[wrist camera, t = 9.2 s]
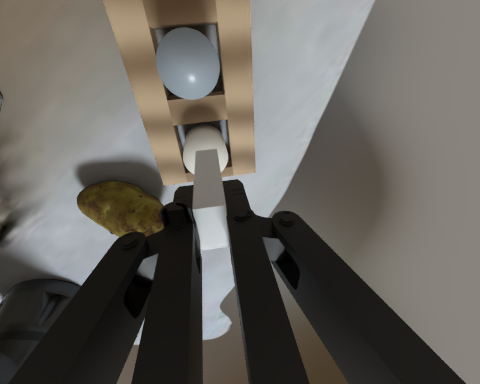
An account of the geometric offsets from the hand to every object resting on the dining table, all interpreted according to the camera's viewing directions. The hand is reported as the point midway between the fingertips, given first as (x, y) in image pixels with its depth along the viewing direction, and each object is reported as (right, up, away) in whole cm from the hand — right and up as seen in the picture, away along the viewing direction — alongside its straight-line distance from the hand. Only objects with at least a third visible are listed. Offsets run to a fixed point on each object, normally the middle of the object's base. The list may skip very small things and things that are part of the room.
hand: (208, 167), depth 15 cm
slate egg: (-3, +12, +8) cm, 15 cm away
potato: (-16, -3, +20) cm, 25 cm away
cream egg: (-3, +5, +15) cm, 16 cm away
